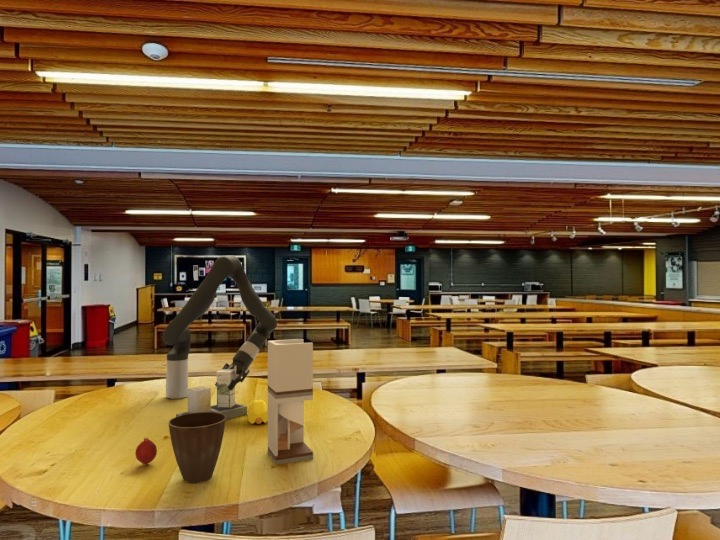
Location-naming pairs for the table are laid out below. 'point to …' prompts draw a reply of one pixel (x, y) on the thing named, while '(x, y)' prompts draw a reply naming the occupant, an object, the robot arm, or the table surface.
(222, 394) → the syrup box
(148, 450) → the onion
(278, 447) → the white brown-banded tower
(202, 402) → the block
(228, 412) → the grey rectangular tray
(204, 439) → the plant pot
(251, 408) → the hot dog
